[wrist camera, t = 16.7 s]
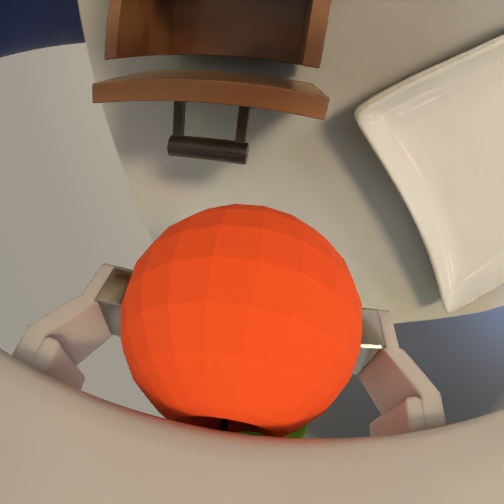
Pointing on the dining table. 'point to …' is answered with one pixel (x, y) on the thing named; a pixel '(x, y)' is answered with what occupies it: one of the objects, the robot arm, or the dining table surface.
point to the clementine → (241, 322)
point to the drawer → (224, 44)
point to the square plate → (449, 164)
